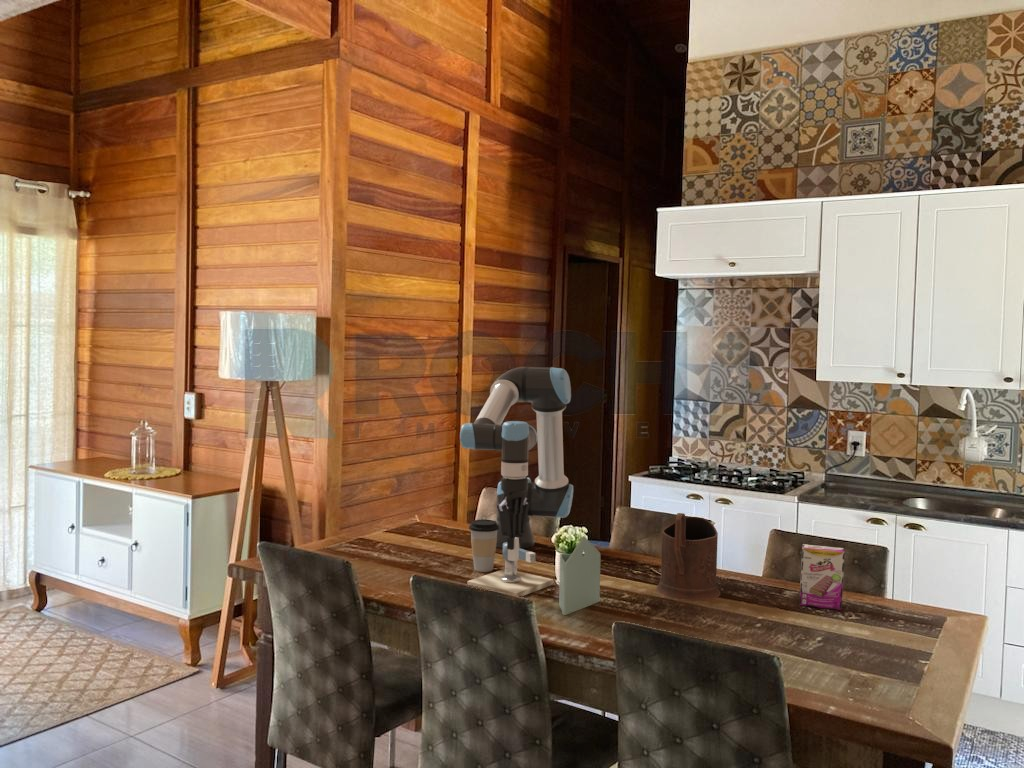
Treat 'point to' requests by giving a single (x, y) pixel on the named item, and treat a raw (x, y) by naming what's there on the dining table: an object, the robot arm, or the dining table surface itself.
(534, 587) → the base board
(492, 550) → the coffee cup
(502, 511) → the robot arm
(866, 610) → the dining table surface
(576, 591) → the planter
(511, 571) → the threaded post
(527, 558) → the cap
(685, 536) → the rusty brown jug
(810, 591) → the candy bar box
